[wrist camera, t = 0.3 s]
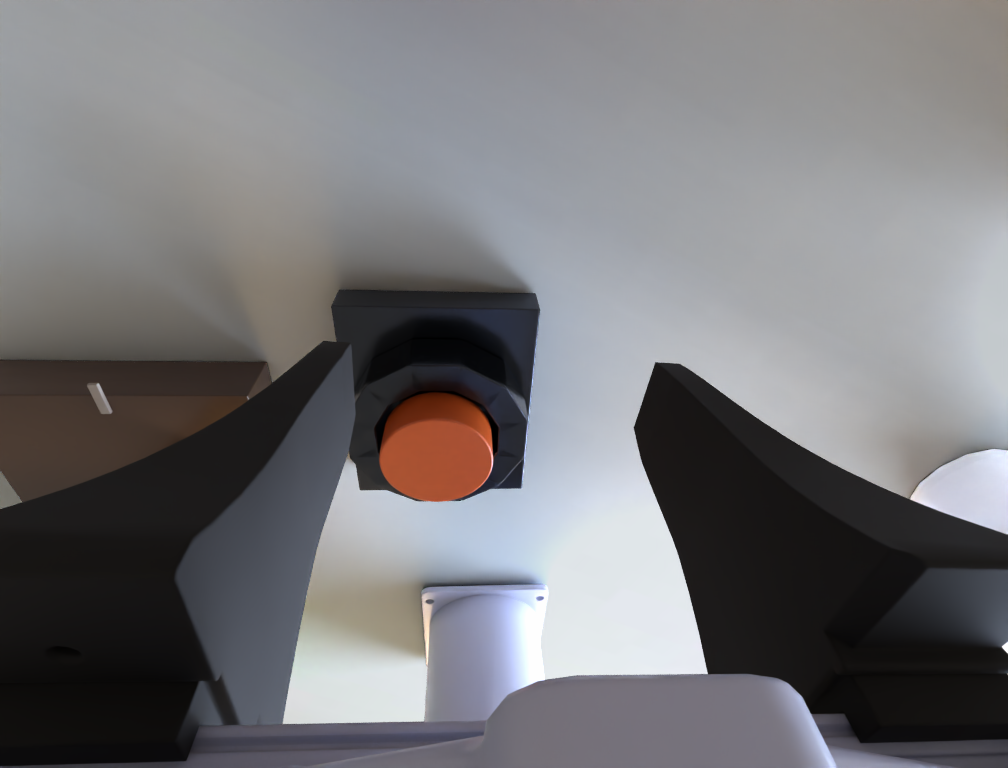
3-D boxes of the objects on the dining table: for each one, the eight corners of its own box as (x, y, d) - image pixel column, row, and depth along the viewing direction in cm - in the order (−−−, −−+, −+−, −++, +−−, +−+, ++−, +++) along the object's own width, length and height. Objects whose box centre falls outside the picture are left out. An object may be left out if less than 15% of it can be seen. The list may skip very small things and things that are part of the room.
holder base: (344, 556, 30) (334, 597, 28) (88, 561, 29) (58, 605, 27) (302, 350, 22) (284, 386, 20) (-55, 346, 21) (-114, 384, 19)
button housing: (519, 467, 27) (526, 520, 24) (364, 469, 27) (352, 523, 24) (536, 293, 21) (547, 335, 19) (338, 288, 21) (318, 332, 18)
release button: (489, 471, 23) (491, 501, 21) (388, 472, 23) (383, 503, 21) (493, 391, 20) (495, 419, 19) (379, 390, 20) (373, 419, 19)
